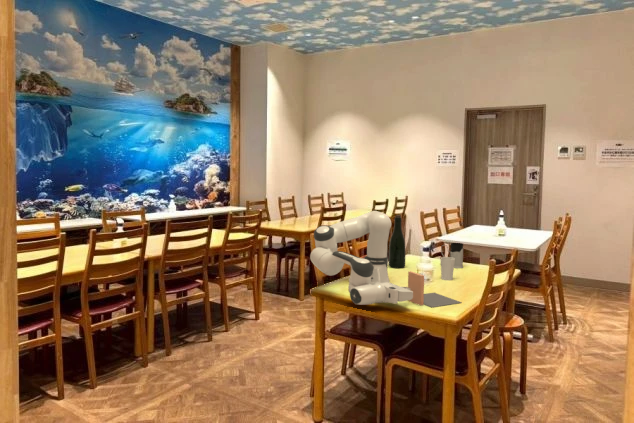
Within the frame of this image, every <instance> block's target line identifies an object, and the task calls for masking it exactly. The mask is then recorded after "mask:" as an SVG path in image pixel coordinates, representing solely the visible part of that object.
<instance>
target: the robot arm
mask: <svg viewBox="0 0 634 423" xmlns="http://www.w3.org/2000/svg"><path fill="white" fill-rule="evenodd" d="M391 227H392V220H391V218H390V217H389V215H387V214H386V213H384V212H381V211H379V210H378V211H377V210H372V211H371V210H370V211H369V212H366V213H363V214H361V215H358V216H356V217H353V218H350V219H346V220H342V221H339V222H336V223H333V224H331V225H320V226H318V227H317V228H316V229H314V231H313V238H314V245H315V248H313V249H312V250H311V252H310V254H309V257H310V261H311V263H312V264H313V265H314V267H316V268H317V269H318V270H319V271H320V272H322V273H323V274H324V275H327V276H335V275H337V274H338V273H340V272H341V271H342V269H343V267H344V265H345V264H346V265H348V266H350V277H349V278H348V292H349V298H350V300H351V302H352V303H354V304H355V305H361V306H362V305H363V306H364V305H367V306H368V305H373V304H375V303H378V304H381V303H389V304H394V305H395V304H398V302H399V303H400V302H407V301H408V300H411V299H413V291H411V288H409V287H408V286H400V285H397V284H394V283H392V282H390V278H389V273H388V267H389V256H388V241H389V236H390V230H391ZM365 235H368V238H367V239H368V240H367V243H366V255H363V256H362V257H359V256H356V255H355V254H354V255H353V254H351V253H348V252H345V251H341V250H338V244H339V243H344V242H348V241H352V240H355V239H358V238H362V237H363V236H365Z"/></svg>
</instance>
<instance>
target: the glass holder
mask: <svg viewBox="0 0 634 423" xmlns="http://www.w3.org/2000/svg"><path fill="white" fill-rule="evenodd" d="M443 246H445V247H446V248H447V252H448V253H449V257H451V258H455V262H454V269H464V266H463V265H464V261H463V260H464V243H461V242H451V243H450V250H449V247H448V245H446V244H443V245H442V246H441V247H440V253H441V255H442V257H445V256H444V253H443V250H442V248H443Z"/></svg>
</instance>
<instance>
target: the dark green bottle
mask: <svg viewBox="0 0 634 423" xmlns="http://www.w3.org/2000/svg"><path fill="white" fill-rule="evenodd" d="M393 220H394V226H393V232H392V234H391V236H390V239H389V243H388V244H389V245H388V246H389V247H388V248H389V249H388V267H389V268H391V269H404V268H405V267H406V239H405V237H404V236H405V235H404V233H403V228H402V220H403V219H402V216H401V215H400V214H395V217H394V219H393Z"/></svg>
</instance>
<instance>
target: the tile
mask: <svg viewBox="0 0 634 423" xmlns="http://www.w3.org/2000/svg"><path fill="white" fill-rule="evenodd" d="M407 274H408V275H407V287H409V288H411V291H413V299H411V300H409V302H411V303H413V302H414V303H413V304H416V305H418V304H419V305H418V306H424V304H423V303H424V294H425V275H424V274H421V273H417V272H415V271H411V270H410V271H408V273H407Z"/></svg>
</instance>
